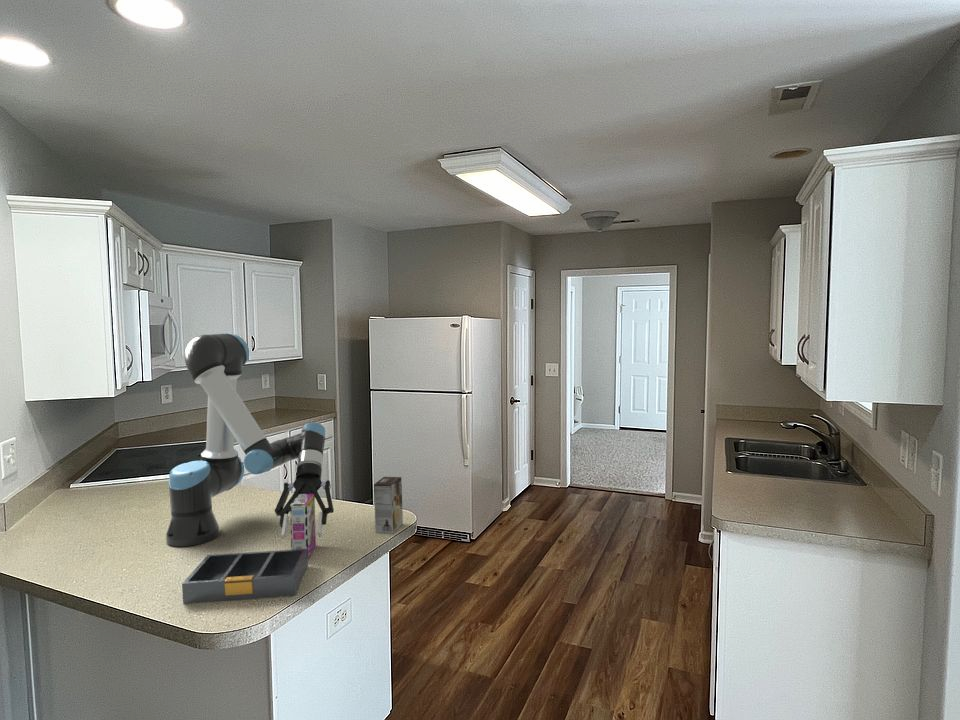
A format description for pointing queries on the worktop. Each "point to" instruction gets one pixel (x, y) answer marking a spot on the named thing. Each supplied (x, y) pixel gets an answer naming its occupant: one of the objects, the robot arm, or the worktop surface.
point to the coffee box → (388, 504)
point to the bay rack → (246, 576)
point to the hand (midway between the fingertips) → (301, 535)
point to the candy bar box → (303, 522)
